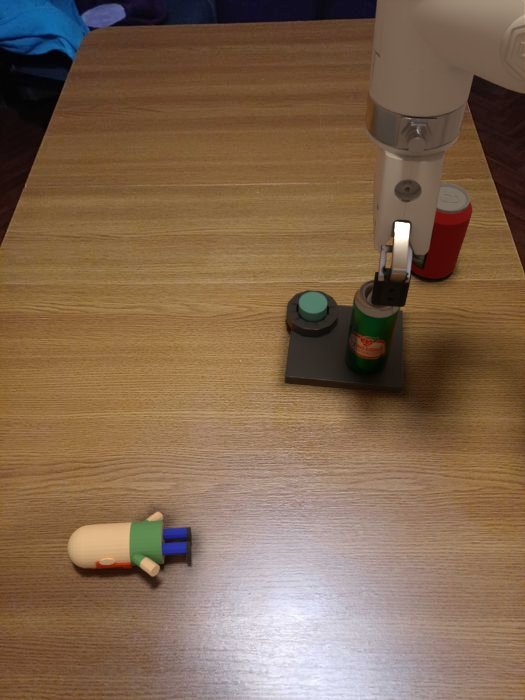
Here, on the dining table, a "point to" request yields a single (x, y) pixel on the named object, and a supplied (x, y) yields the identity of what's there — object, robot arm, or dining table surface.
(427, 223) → the robot arm
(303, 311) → the button
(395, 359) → the scale
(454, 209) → the beverage can
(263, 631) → the dining table surface
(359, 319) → the soda can
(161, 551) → the toy figurine
